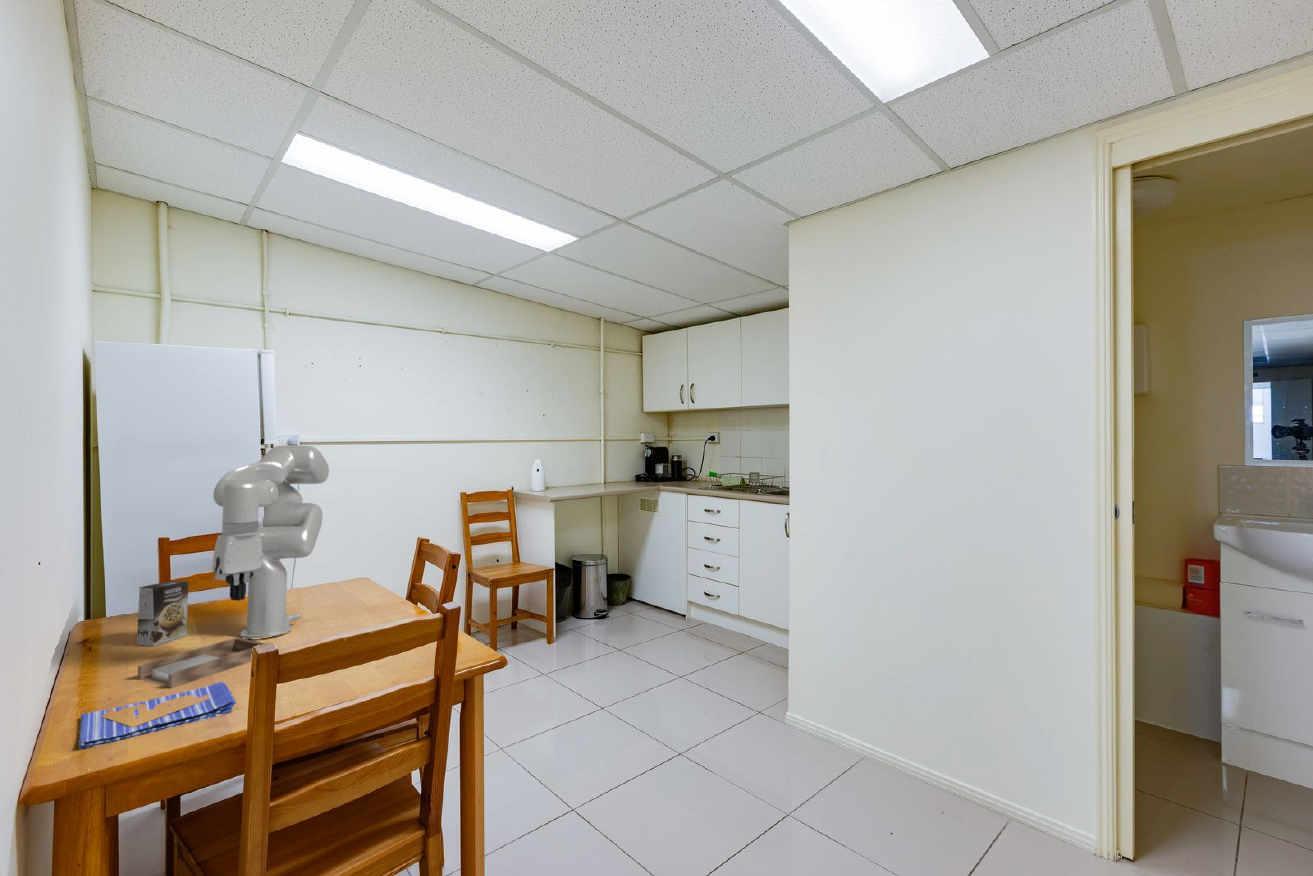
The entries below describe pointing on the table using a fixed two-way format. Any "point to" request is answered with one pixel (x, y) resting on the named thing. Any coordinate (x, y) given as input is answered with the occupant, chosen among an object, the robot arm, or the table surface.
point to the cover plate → (179, 666)
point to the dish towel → (106, 730)
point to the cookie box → (162, 613)
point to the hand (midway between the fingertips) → (237, 599)
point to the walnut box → (228, 657)
